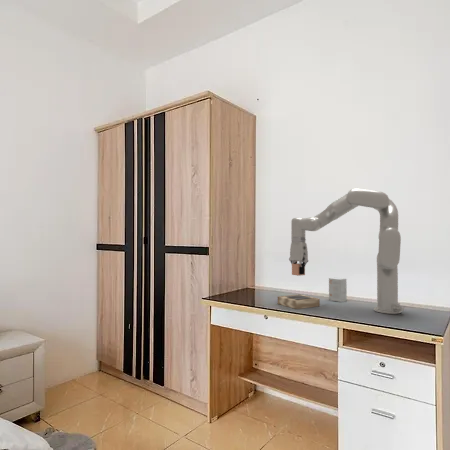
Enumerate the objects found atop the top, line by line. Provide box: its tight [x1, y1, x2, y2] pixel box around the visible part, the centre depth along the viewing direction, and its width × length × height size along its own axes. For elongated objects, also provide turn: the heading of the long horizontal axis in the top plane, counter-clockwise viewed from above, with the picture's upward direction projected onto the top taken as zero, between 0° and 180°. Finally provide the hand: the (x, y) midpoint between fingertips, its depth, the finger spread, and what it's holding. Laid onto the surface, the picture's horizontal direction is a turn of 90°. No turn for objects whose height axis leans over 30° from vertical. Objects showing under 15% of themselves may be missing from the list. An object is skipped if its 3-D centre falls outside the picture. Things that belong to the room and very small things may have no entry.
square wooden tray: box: [277, 293, 321, 310], centre depth 198 cm, size 16×16×4 cm
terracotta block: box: [291, 262, 306, 277], centre depth 198 cm, size 5×5×6 cm
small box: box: [328, 277, 348, 303], centre depth 212 cm, size 8×6×13 cm
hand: (298, 273), depth 198 cm, fingers closed on terracotta block, 5 cm apart
